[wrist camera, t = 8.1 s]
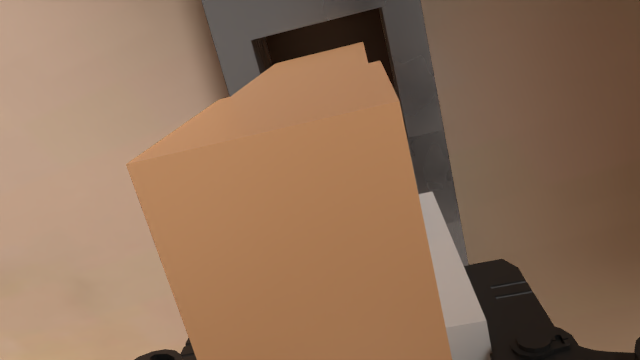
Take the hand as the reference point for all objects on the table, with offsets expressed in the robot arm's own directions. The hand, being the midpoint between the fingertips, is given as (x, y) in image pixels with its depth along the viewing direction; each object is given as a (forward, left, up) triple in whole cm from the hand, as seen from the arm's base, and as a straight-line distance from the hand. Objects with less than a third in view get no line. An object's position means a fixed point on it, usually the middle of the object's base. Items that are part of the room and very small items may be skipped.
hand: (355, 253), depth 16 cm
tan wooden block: (0, 0, -4) cm, 4 cm away
